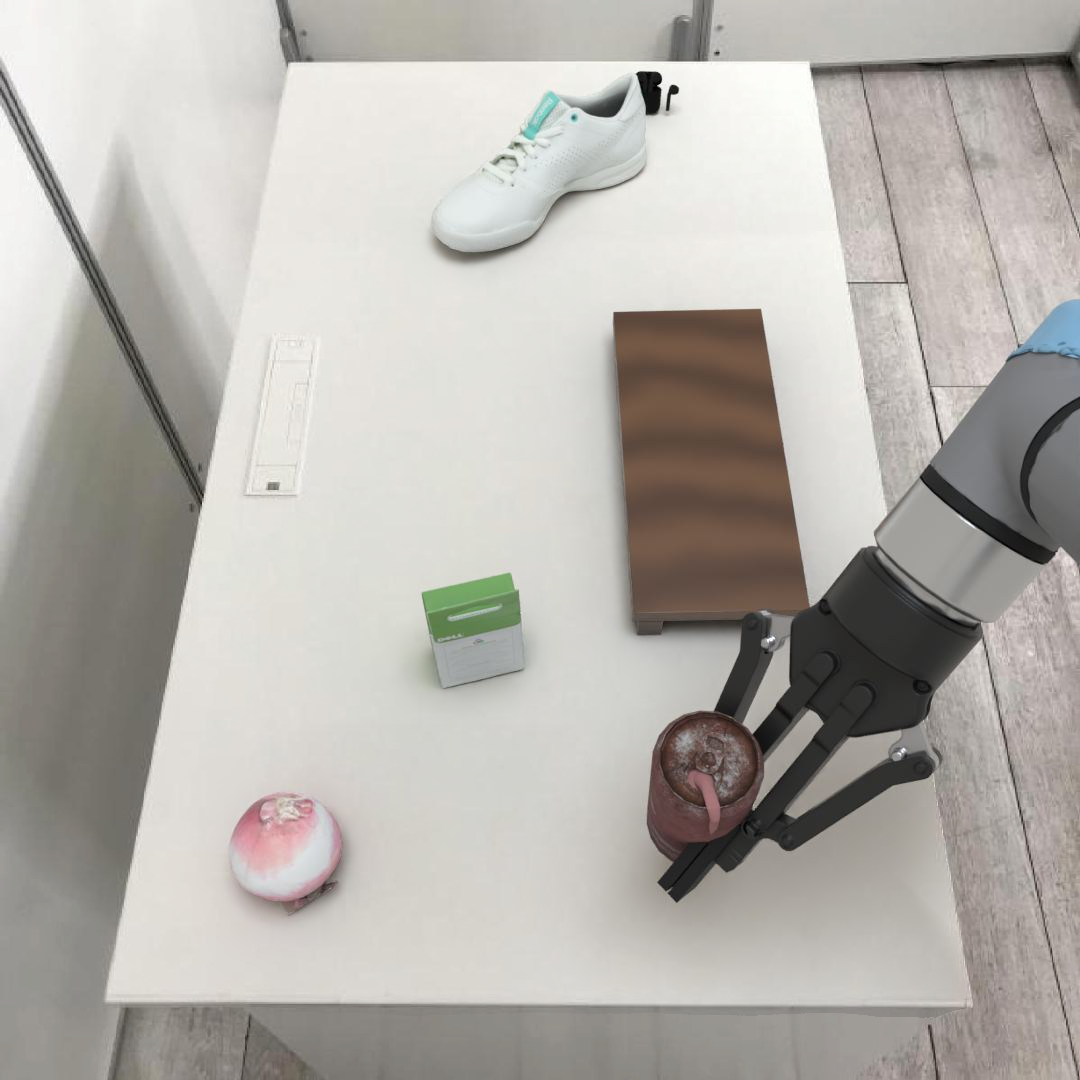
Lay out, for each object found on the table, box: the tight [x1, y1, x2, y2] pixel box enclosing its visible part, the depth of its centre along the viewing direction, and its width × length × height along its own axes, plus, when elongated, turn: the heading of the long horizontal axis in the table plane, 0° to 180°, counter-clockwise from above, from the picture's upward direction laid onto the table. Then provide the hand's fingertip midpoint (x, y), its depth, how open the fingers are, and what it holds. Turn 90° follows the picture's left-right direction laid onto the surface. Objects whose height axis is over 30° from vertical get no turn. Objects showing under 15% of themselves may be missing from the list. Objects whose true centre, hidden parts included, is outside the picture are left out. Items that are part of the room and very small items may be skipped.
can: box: [646, 710, 765, 865], centre depth 63 cm, size 6×6×14 cm
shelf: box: [612, 308, 811, 636], centre depth 94 cm, size 32×14×4 cm, turn 1°
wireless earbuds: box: [635, 70, 680, 114], centre depth 120 cm, size 7×2×5 cm, turn 87°
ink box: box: [421, 571, 526, 689], centre depth 81 cm, size 7×4×13 cm, turn 104°
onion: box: [228, 791, 343, 915], centre depth 76 cm, size 8×8×7 cm
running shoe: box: [430, 72, 647, 253], centre depth 110 cm, size 10×27×12 cm, turn 129°
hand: (676, 885), depth 64 cm, fingers closed
